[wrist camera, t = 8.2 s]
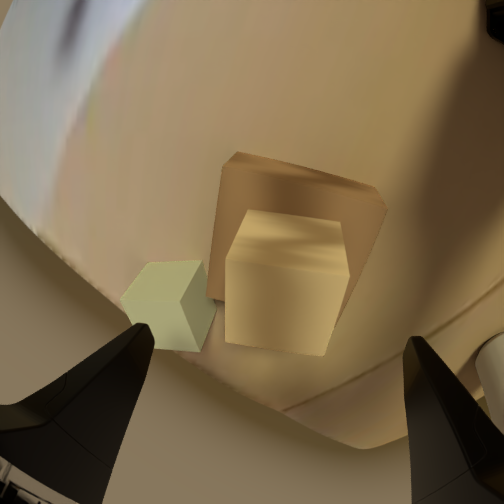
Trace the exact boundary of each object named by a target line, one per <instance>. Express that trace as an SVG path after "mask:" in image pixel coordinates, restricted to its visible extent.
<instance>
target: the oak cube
mask: <svg viewBox="0 0 504 504" xmlns="http://www.w3.org/2000/svg"><path fill="white" fill-rule="evenodd" d="M349 278H350V274H349V268H348V262H347V256H346V251H345V245H344V240H343V234H342V229H341V224H340V222H337V221H331V220H324V219H317V218H310V217H303V216H296V215H289V214H281V213H274V212H266V211H258V210H250V209H248V210H247V213H246V215H245V217H244V219H243V221H242V223H241V226H240V228H239V230H238V232H237V234H236V237H235V239H234V241H233V243H232V245H231V248H230V250H229V252H228V254H227V256H226V259H225V342H228V343H234V344H239V345H245V346H251V347H257V348H264V349H270V350H277V351H284V352H291V353H299V354H307V355H315V356H324V354H325V352H326V349H327V346H328V343H329V340H330V338H331V335H332V332H333V329H334V326H335V323H336V320H337V317H338V314H339V311H340V307H341V304H342V301H343V298H344V295H345V291H346V288H347V285H348V281H349Z"/></svg>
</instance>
